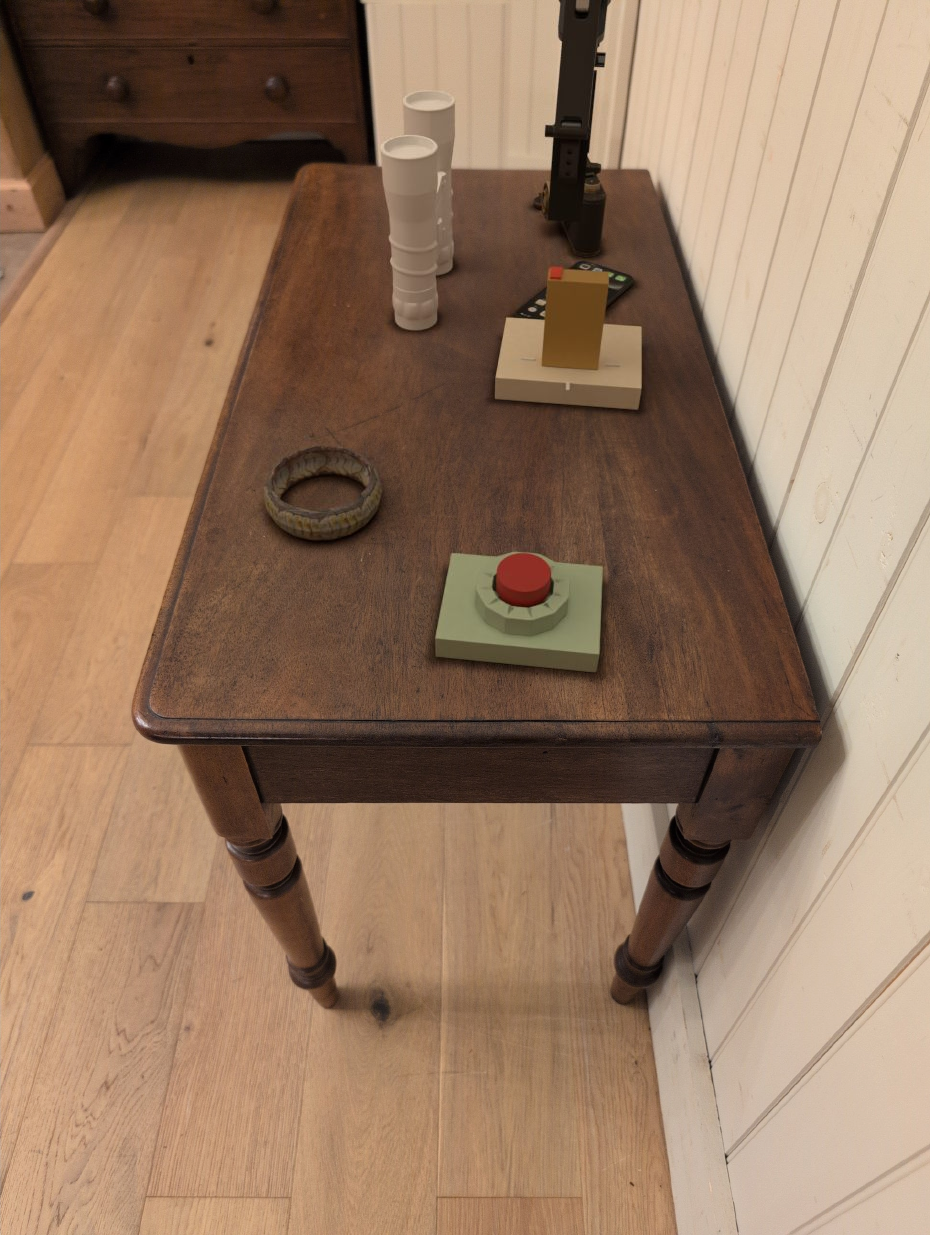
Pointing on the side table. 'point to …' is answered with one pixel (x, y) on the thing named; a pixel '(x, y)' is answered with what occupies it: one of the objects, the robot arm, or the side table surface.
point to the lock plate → (570, 369)
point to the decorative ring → (318, 464)
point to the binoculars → (420, 204)
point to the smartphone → (616, 278)
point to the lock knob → (574, 318)
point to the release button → (523, 580)
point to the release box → (521, 617)
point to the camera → (583, 214)
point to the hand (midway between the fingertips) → (569, 183)
